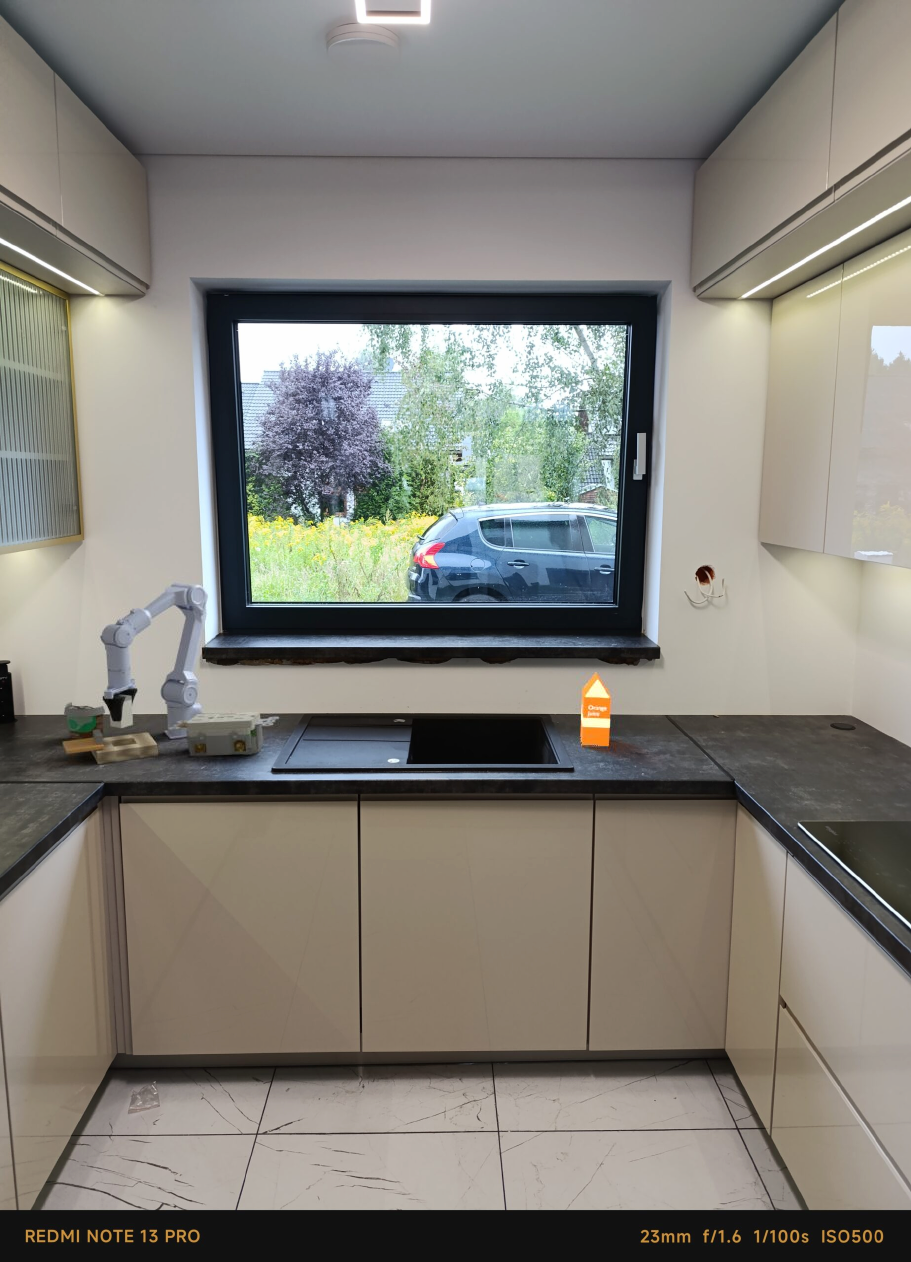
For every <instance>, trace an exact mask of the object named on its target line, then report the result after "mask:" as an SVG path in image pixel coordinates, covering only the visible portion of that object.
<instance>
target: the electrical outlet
mask: <svg viewBox="0 0 911 1262" xmlns="http://www.w3.org/2000/svg"><path fill="white" fill-rule="evenodd" d="M279 719H280V717H279V716H270V717H268V718H261V712H260V711H246V712H244V711H242V712H224V713H223V712H222V713H219V712H218V713H202V714H197V715H196V716H195V717H193V718H192V719H191V720H189V721H187V720H183V721H178V722H177V723H176V724H175V725H173V726H174V727H170V728H169V729H168V728H167V730H178V729H180V728H187V730H186V732H187V737H186V738H187V739H186V740H187V747H188V751H189V755H190V757H194V756H195V757H196V756H197V757H199V756H201V757H202V756H224V755H225V756H229V755H230V756H231V755H243V756H250V755H254V754H258V753H259V752H260V751H261V749H262V746H263V744H264V739H263V729H262V727H265V728H266V727H273V725H274V723H275V722H276V721H277V720H279ZM174 728H175V729H174Z"/></svg>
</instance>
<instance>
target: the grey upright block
mask: <svg viewBox="0 0 911 1262" xmlns="http://www.w3.org/2000/svg"><path fill="white" fill-rule="evenodd" d="M120 696H125V697H126V698H125V700H124V704H123V709H122V720H121V721H120V722H119V721H113V720H112V718H111V715H110V714H109V721H110V722H109V723H110V727H113V728H118V729H124V728H126V727H129V726H133V725H134V723H133V722H134V720H133V719H134V718H133V716H134V715H133V704H132V698H131V696H128V695H122V694H120Z"/></svg>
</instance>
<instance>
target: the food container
mask: <svg viewBox="0 0 911 1262" xmlns="http://www.w3.org/2000/svg"><path fill="white" fill-rule="evenodd" d="M105 709H106V708H105V707H104V706H98V707H93V706H89V705H80V706H79V705H78V706H77V705H73V703H72V702H69V703H66V705H65V707H64V711H63V715H65V716H66V719H67V725H68V730H69V736H70V741H72V740H79V739H87V738H93V730H98V729H99V730H100V732H101V733H102V735H103V736H104V714H106V710H105Z"/></svg>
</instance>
